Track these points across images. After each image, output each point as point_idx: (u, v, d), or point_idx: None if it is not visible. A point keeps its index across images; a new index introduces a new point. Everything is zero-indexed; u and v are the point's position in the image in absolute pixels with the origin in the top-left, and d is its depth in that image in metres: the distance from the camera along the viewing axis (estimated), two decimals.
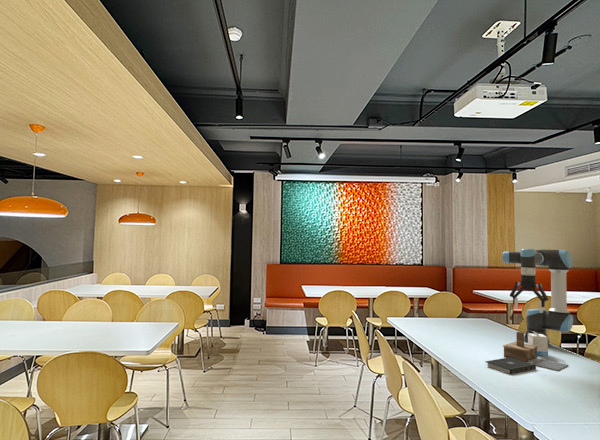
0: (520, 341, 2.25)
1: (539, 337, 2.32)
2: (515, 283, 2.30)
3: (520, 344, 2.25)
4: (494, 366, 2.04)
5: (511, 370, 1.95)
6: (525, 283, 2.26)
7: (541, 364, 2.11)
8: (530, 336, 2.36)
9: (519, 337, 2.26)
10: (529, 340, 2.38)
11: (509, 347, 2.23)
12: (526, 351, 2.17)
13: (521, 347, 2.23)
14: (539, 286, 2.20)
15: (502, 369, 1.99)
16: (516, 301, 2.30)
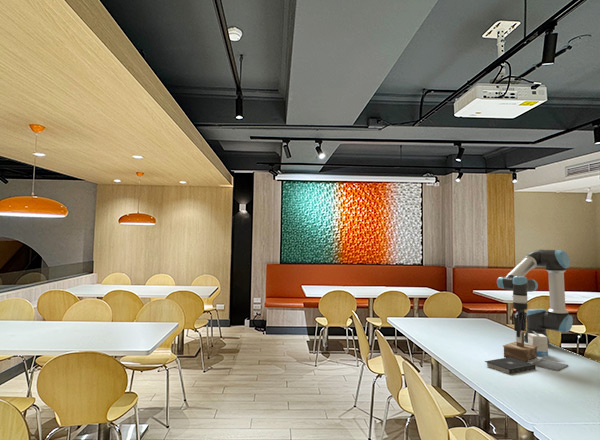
0: None
1: (539, 337, 2.32)
2: None
3: (520, 344, 2.25)
4: (494, 366, 2.04)
5: (510, 370, 1.95)
6: None
7: (541, 364, 2.11)
8: (530, 336, 2.36)
9: None
10: (529, 340, 2.38)
11: (509, 347, 2.23)
12: (526, 351, 2.17)
13: (521, 347, 2.23)
14: None
15: (502, 369, 2.00)
16: None
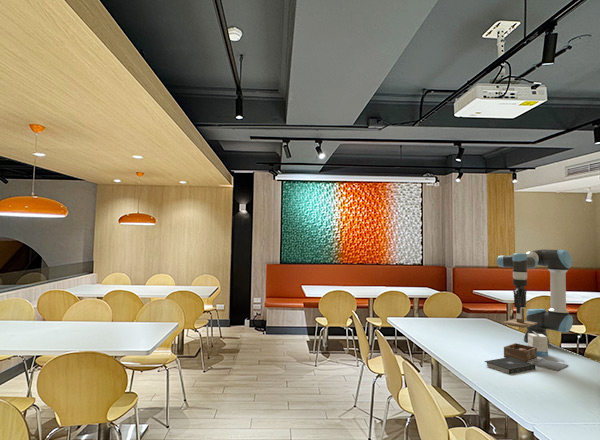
0: None
1: (539, 337, 2.32)
2: None
3: (520, 320, 2.26)
4: (493, 366, 2.04)
5: (510, 370, 1.96)
6: None
7: (541, 364, 2.11)
8: (530, 336, 2.36)
9: None
10: (529, 340, 2.38)
11: (509, 323, 2.24)
12: (526, 326, 2.18)
13: (521, 323, 2.24)
14: None
15: (501, 369, 2.00)
16: None
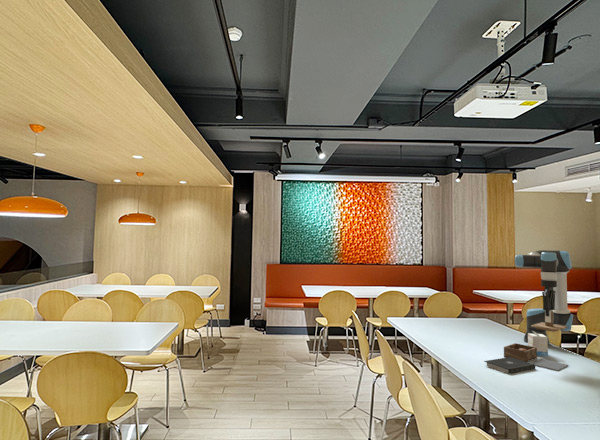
0: None
1: (539, 337, 2.32)
2: None
3: (549, 324, 2.12)
4: (493, 366, 2.04)
5: (510, 370, 1.96)
6: None
7: (541, 364, 2.11)
8: (530, 336, 2.36)
9: None
10: (529, 340, 2.38)
11: (538, 327, 2.11)
12: (557, 330, 2.04)
13: (551, 327, 2.10)
14: None
15: (501, 369, 2.00)
16: None
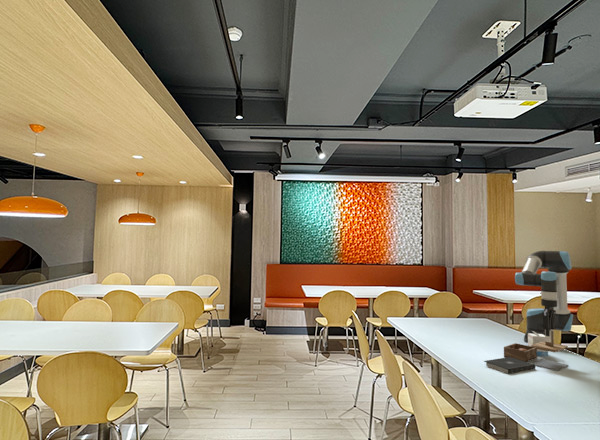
0: None
1: (539, 337, 2.32)
2: None
3: (549, 344, 2.12)
4: (493, 366, 2.04)
5: (509, 370, 1.96)
6: None
7: (541, 364, 2.11)
8: (530, 336, 2.36)
9: None
10: (529, 340, 2.38)
11: (538, 347, 2.10)
12: (557, 351, 2.03)
13: (551, 347, 2.09)
14: None
15: (501, 369, 2.00)
16: None
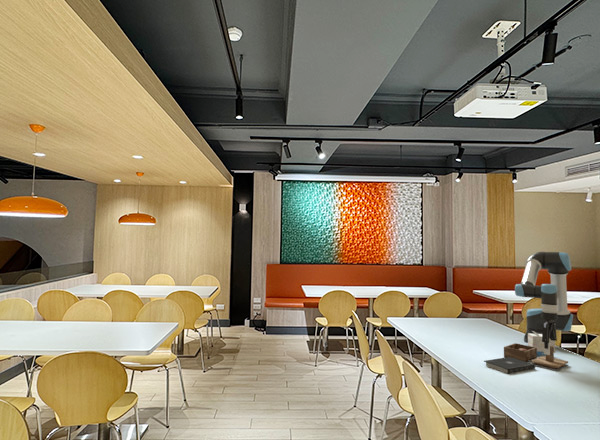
0: (550, 356, 2.11)
1: (539, 337, 2.32)
2: None
3: (550, 359, 2.11)
4: (492, 365, 2.04)
5: (509, 369, 1.96)
6: None
7: None
8: (530, 336, 2.36)
9: None
10: (529, 340, 2.38)
11: (538, 362, 2.09)
12: (557, 367, 2.03)
13: (551, 362, 2.09)
14: None
15: (500, 368, 2.00)
16: (550, 343, 2.16)
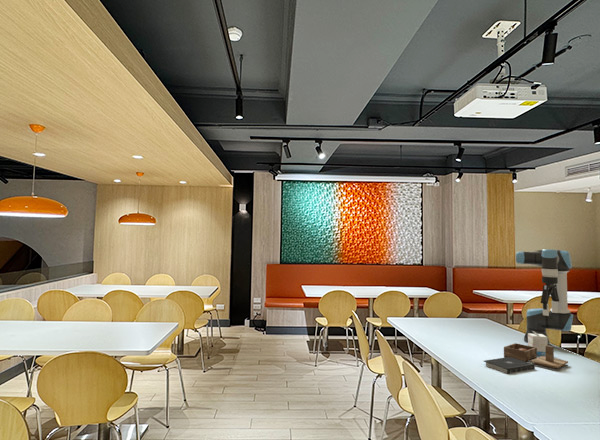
0: (550, 356, 2.11)
1: (539, 337, 2.32)
2: None
3: (550, 359, 2.11)
4: (492, 365, 2.05)
5: (508, 369, 1.96)
6: None
7: None
8: (530, 336, 2.36)
9: (548, 352, 2.12)
10: (529, 340, 2.38)
11: (538, 362, 2.09)
12: (557, 367, 2.03)
13: (551, 362, 2.09)
14: None
15: (500, 368, 2.00)
16: (553, 304, 2.21)
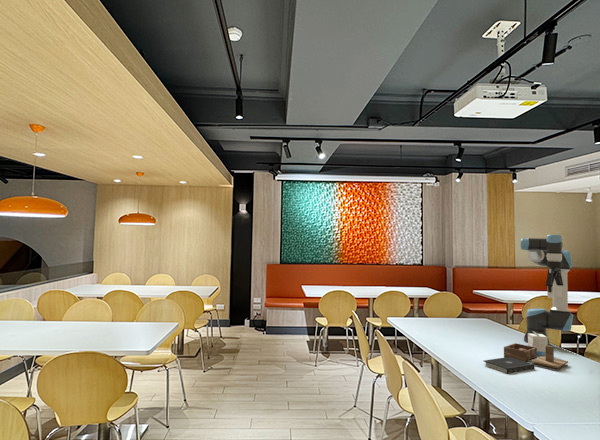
0: (550, 356, 2.11)
1: (539, 337, 2.32)
2: None
3: (550, 359, 2.11)
4: (492, 365, 2.05)
5: (508, 369, 1.96)
6: None
7: None
8: (530, 336, 2.36)
9: (548, 352, 2.12)
10: (529, 340, 2.38)
11: (538, 362, 2.09)
12: (557, 367, 2.03)
13: (551, 362, 2.09)
14: None
15: (499, 368, 2.01)
16: (557, 288, 2.28)
